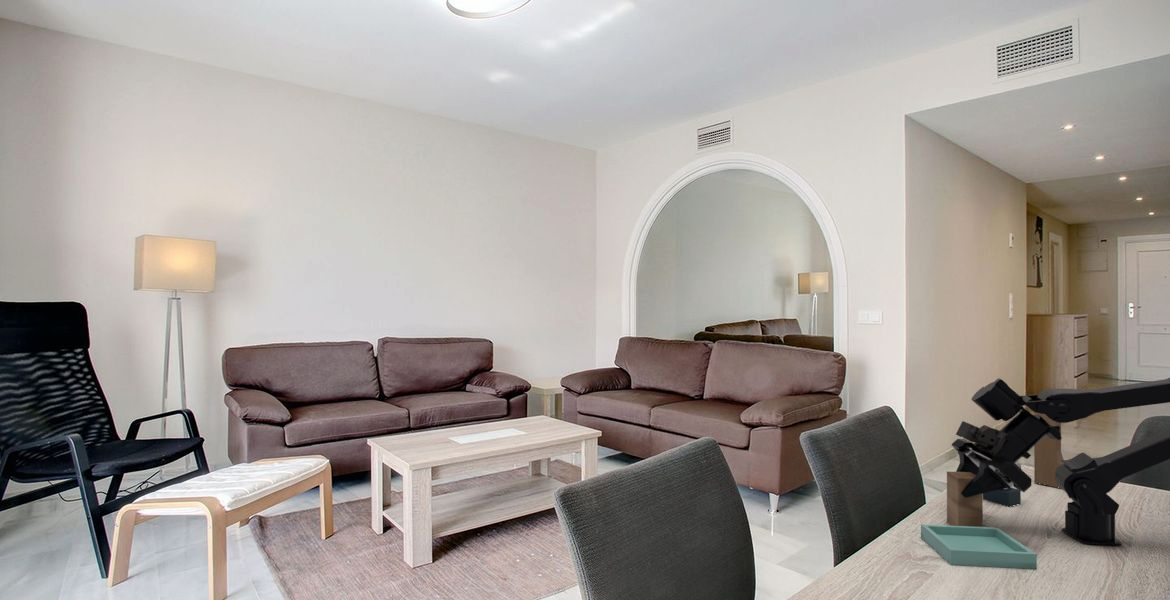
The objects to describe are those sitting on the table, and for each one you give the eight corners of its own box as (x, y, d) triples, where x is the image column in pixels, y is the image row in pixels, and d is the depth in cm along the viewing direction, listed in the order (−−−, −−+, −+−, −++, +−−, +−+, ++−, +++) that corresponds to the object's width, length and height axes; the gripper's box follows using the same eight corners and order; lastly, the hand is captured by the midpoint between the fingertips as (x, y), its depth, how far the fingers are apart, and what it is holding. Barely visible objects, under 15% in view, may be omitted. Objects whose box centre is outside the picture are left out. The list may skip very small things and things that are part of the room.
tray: (997, 540, 110) (997, 527, 110) (1036, 569, 99) (1036, 554, 99) (920, 537, 112) (920, 524, 112) (950, 564, 100) (950, 550, 100)
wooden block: (1085, 489, 140) (1085, 414, 140) (1081, 493, 137) (1080, 416, 137) (1038, 480, 147) (1038, 408, 147) (1033, 483, 144) (1033, 411, 144)
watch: (1025, 502, 130) (1025, 453, 130) (1003, 508, 127) (1003, 458, 127) (999, 495, 136) (999, 448, 136) (977, 500, 132) (977, 451, 132)
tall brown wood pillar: (970, 523, 119) (970, 472, 118) (982, 532, 114) (982, 479, 114) (946, 522, 119) (946, 471, 119) (958, 531, 115) (958, 478, 115)
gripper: (961, 400, 125) (907, 450, 127) (1013, 418, 107) (949, 476, 108) (1000, 438, 124) (945, 487, 126) (1060, 462, 106) (995, 520, 107)
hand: (956, 491), depth 117 cm, fingers closed on tall brown wood pillar, 4 cm apart
